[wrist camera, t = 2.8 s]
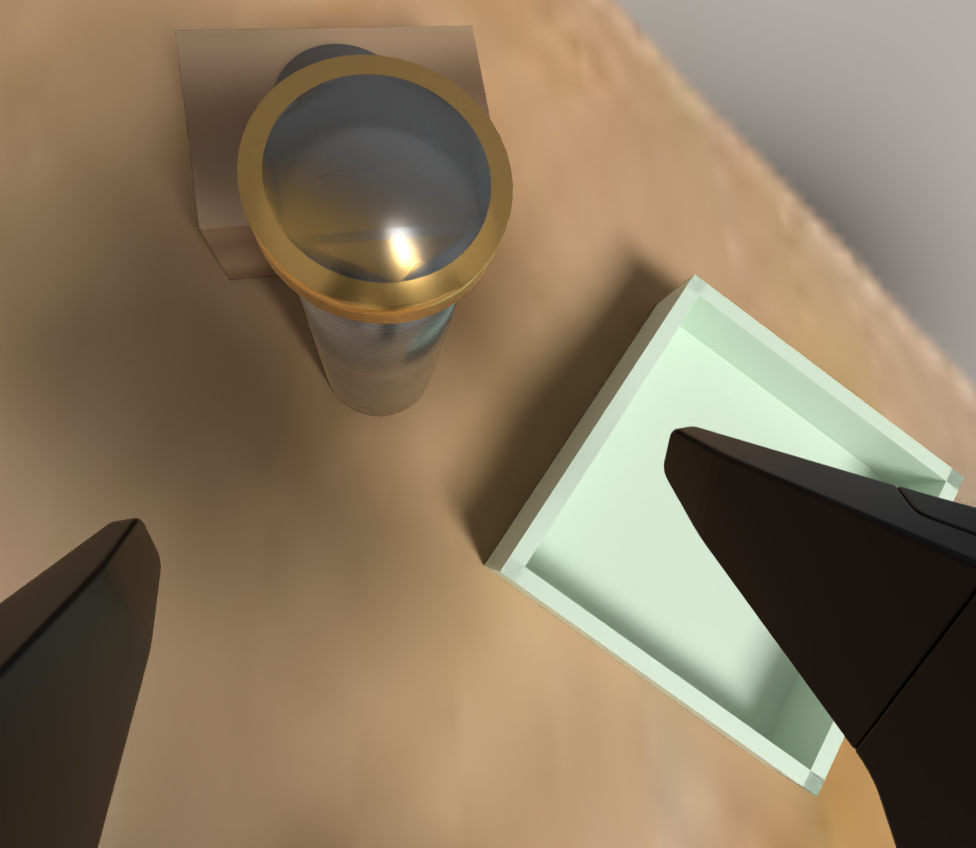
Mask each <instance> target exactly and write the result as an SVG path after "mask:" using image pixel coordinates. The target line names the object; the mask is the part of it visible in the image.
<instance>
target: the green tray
mask: <svg viewBox="0 0 976 848" xmlns="http://www.w3.org/2000/svg"><path fill="white" fill-rule="evenodd" d="M689 426H695V427H699V428H702V429H706V430H709V431H712V432H716V433H719V434H723V435H726V436H729V437H733V438H736V439H740V440H743V441H746V442H750V443H753V444H756V445H760V446H763V447H767V448H770V449H773V450H777V451H780V452H784V453H787V454H790V455H794V456H797V457H800V458H804V459H807V460H811V461H814V462H817V463H821V464H824V465H828V466H831V467H834V468H838V469H841V470H844V471H848V472H851V473H855V474H858V475H861V476H865V477H868V478H872V479H875V480H878V481H882V482H885V483H888V484H892V485H895V486H896V487H897V488H898V487H905V488H908V489H911V490H915V491H918V492H922V493H925V494H929V495H932V496H936V497H939V498H943V499H946V500H950V501H953V500H954V498H955V496H956V494H957V492H958V490H959V487H960V485H961V483H962V481H963V479H964V477H963V476H961V475H960V474H959V473H958V472H956V471H955V470H954V469H952V468H951V467H950V466H948V465H947V464H946V463H944V462H943V461H942V460H940V459H939V458H938V457H936V456H935V455H934V454H932V453H931V452H930V451H928V450H927V449H926V448H924V447H923V446H922V445H920V444H919V443H918V442H916V441H915V440H914V439H912V438H911V437H910V436H908V435H907V434H906V433H904V432H903V431H902V430H900V429H899V428H898V427H897V426H895V425H894V424H893V423H891V422H890V421H889V420H887V419H886V418H885V417H883V416H882V415H881V414H879V413H878V412H877V411H875V410H874V409H873V408H871V407H870V406H869V405H867V404H866V403H865V402H863V401H862V400H861V399H859V398H858V397H857V396H855V395H854V394H853V393H851V392H850V391H849V390H847V389H846V388H845V387H843V386H842V385H841V384H839V383H838V382H837V381H836V380H834V379H833V378H832V377H830V376H829V375H828V374H826V373H825V372H824V371H822V370H821V369H820V368H818V367H817V366H816V365H814V364H813V363H812V362H810V361H809V360H808V359H806V358H805V357H804V356H802V355H801V354H800V353H798V352H797V351H796V350H794V349H793V348H792V347H790V346H789V345H788V344H786V343H785V342H784V341H782V340H781V339H780V338H778V337H777V336H776V335H775V334H773V333H772V332H771V331H769V330H768V329H767V328H765V327H764V326H763V325H761V324H760V323H759V322H757V321H756V320H755V319H753V318H752V317H751V316H749V315H748V314H747V313H745V312H744V311H743V310H741V309H740V308H739V307H737V306H736V305H735V304H733V303H732V302H731V301H729V300H728V299H727V298H725V297H724V296H723V295H721V294H720V293H719V292H717V291H716V290H715V289H713V288H712V287H711V286H710V285H708V284H707V283H706V282H704V281H703V280H702V279H700V278H699V277H698V276H696V275H695V274H694V275H693V276H692V277H690V278H689V279H688V280H686V281H685V282H684V283H683V284H681V285H680V286H679V287H678V288H676V289H675V290H674V291H673V292H671V293H670V294H669V295H668V296H666V297H665V298H664V299H663V300H661V301H660V302H659V303H658V304H657V305H656V307H655V308H654V310H653V311H652V313H651V314H650V316H649V317H648V319H647V320H646V322H645V323H644V325H643V326H642V328H641V329H640V331H639V332H638V334H637V335H636V337H635V338H634V340H633V341H632V343H631V344H630V346H629V347H628V349H627V351H626V352H625V354H624V355H623V357H622V358H621V360H620V361H619V363H618V364H617V366H616V367H615V369H614V370H613V372H612V373H611V375H610V376H609V378H608V379H607V381H606V382H605V384H604V385H603V387H602V388H601V390H600V391H599V393H598V394H597V396H596V397H595V399H594V400H593V402H592V403H591V405H590V406H589V408H588V409H587V411H586V412H585V414H584V415H583V417H582V418H581V420H580V421H579V423H578V424H577V426H576V427H575V429H574V431H573V432H572V434H571V435H570V437H569V438H568V440H567V441H566V443H565V444H564V446H563V447H562V449H561V450H560V452H559V453H558V455H557V456H556V458H555V459H554V461H553V462H552V464H551V465H550V467H549V468H548V470H547V471H546V473H545V474H544V476H543V477H542V479H541V480H540V482H539V483H538V485H537V486H536V488H535V489H534V491H533V492H532V494H531V495H530V497H529V498H528V500H527V501H526V503H525V504H524V506H523V507H522V509H521V511H520V512H519V514H518V515H517V517H516V518H515V520H514V521H513V523H512V524H511V526H510V527H509V529H508V530H507V532H506V533H505V535H504V536H503V538H502V539H501V541H500V542H499V544H498V545H497V547H496V548H495V550H494V551H493V553H492V554H491V556H490V557H489V559H488V560H487V562H486V563H485V565H484V566H485V567H486V568H488V569H489V570H491V571H492V572H493V573H495V574H496V575H498V576H499V577H501V578H502V579H503V580H505V581H506V582H508V583H509V584H510V585H512V586H513V587H515V588H516V589H517V590H519V591H520V592H522V593H523V594H524V595H526V596H527V597H529V598H530V599H532V600H533V601H534V602H536V603H537V604H539V605H540V606H541V607H543V608H544V609H546V610H547V611H548V612H550V613H551V614H553V615H554V616H555V617H557V618H558V619H560V620H561V621H563V622H564V623H565V624H567V625H568V626H570V627H571V628H572V629H574V630H575V631H577V632H578V633H579V634H581V635H582V636H584V637H585V638H586V639H588V640H589V641H591V642H592V643H593V644H595V645H596V646H598V647H599V648H601V649H602V650H603V651H605V652H606V653H608V654H609V655H610V656H612V657H613V658H615V659H616V660H617V661H619V662H620V663H622V664H623V665H624V666H626V667H627V668H629V669H630V670H632V671H633V672H634V673H636V674H637V675H639V676H640V677H641V678H643V679H644V680H646V681H647V682H648V683H650V684H651V685H653V686H654V687H655V688H657V689H658V690H660V691H661V692H663V693H664V694H665V695H667V696H668V697H670V698H671V699H672V700H674V701H675V702H677V703H678V704H679V705H681V706H682V707H684V708H685V709H686V710H688V711H689V712H691V713H692V714H694V715H695V716H696V717H698V718H699V719H701V720H702V721H703V722H705V723H706V724H708V725H709V726H710V727H712V728H713V729H715V730H716V731H717V732H719V733H720V734H722V735H723V736H725V737H726V738H727V739H729V740H730V741H732V742H733V743H734V744H736V745H737V746H739V747H740V748H741V749H743V750H744V751H746V752H747V753H748V754H750V755H751V756H753V757H754V758H756V759H757V760H758V761H760V762H761V763H763V764H764V765H766V766H768V767H769V768H771V769H773V770H774V771H776V772H777V773H779V774H781V775H782V776H784V777H786V778H787V779H789V780H790V781H792V782H794V783H795V784H797V785H799V786H800V787H802V788H803V789H805V790H807V791H808V792H810V793H811V794H813V795H815V796H816V797H817V795H818V793H819V791H820V788H821V786H822V784H823V782H824V780H825V778H826V775H827V773H828V771H829V769H830V767H831V765H832V762H833V760H834V758H835V756H836V754H837V752H838V749H839V747H840V745H841V743H842V741H843V739H844V735H843V733H842V732H841V731H840V729H839V728H838V727H837V725H836V724H835V722H834V721H833V720H832V718H831V717H830V716H829V714H828V713H827V711H826V710H825V709H824V707H823V706H822V705H821V703H820V702H819V700H818V699H817V698H816V696H815V695H814V693H813V692H812V691H811V689H810V688H809V687H808V685H807V684H806V682H805V681H804V680H803V678H802V677H801V676H800V674H799V673H798V671H797V670H796V669H795V667H794V666H793V665H792V663H791V662H790V660H789V659H788V658H787V656H786V655H785V654H784V652H783V651H782V649H781V648H780V647H779V645H778V644H777V643H776V641H775V640H774V638H773V637H772V636H771V634H770V633H769V632H768V630H767V629H766V627H765V626H764V625H763V623H762V622H761V621H760V619H759V618H758V616H757V615H756V614H755V612H754V611H753V609H752V608H751V607H750V605H749V604H748V603H747V601H746V600H745V599H744V597H743V596H742V594H741V593H740V592H739V590H738V589H737V588H736V586H735V585H734V583H733V582H732V581H731V579H730V578H729V577H728V575H727V574H726V572H725V571H724V570H723V568H722V567H721V566H720V564H719V563H718V561H717V560H716V559H715V557H714V556H713V555H712V553H711V552H710V550H709V549H708V548H707V546H706V545H705V543H704V542H703V540H702V539H701V538H700V536H699V535H698V533H697V531H696V530H695V528H694V526H693V525H692V523H691V521H690V519H689V517H688V516H687V514H686V512H685V510H684V509H683V507H682V505H681V503H680V501H679V500H678V498H677V496H676V494H675V493H674V491H673V489H672V487H671V485H670V484H669V482H668V480H667V478H666V476H665V473H664V460H665V455H666V451H667V447H668V442H669V438H670V435H671V433H672V431H673V430H675V429H677V428H683V427H689Z"/></svg>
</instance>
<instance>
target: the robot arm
mask: <svg viewBox="0 0 976 848" xmlns="http://www.w3.org/2000/svg"><path fill="white" fill-rule="evenodd" d="M664 473H665V476H666V478H667V480H668V482H669V484H670V485H671V487H672V489H673V491H674V493H675V494H676V496H677V498H678V500H679V501H680V503H681V505H682V507H683V509H684V510H685V512H686V514H687V516H688V517H689V519H690V521H691V523H692V525H693V526H694V528H695V530H696V531H697V533H698V535H699V536H700V538H701V539H702V540H703V542H704V543H705V545H706V546H707V548H708V549H709V550H710V552H711V553H712V555H713V556H714V557H715V559H716V560H717V561H718V563H719V564H720V566H721V567H722V568H723V570H724V571H725V572H726V574H727V575H728V577H729V578H730V579H731V581H732V582H733V583H734V585H735V586H736V588H737V589H738V590H739V592H740V593H741V594H742V596H743V597H744V599H745V600H746V601H747V603H748V604H749V605H750V607H751V608H752V609H753V611H754V612H755V614H756V615H757V616H758V618H759V619H760V621H761V622H762V623H763V625H764V626H765V627H766V629H767V630H768V632H769V633H770V634H771V636H772V637H773V638H774V640H775V641H776V643H777V644H778V645H779V647H780V648H781V649H782V651H783V652H784V654H785V655H786V656H787V658H788V659H789V660H790V662H791V663H792V665H793V666H794V667H795V669H796V670H797V671H798V673H799V674H800V676H801V677H802V678H803V680H804V681H805V682H806V684H807V685H808V687H809V688H810V689H811V691H812V692H813V693H814V695H815V696H816V698H817V699H818V700H819V702H820V703H821V705H822V706H823V707H824V709H825V710H826V711H827V713H828V714H829V716H830V717H831V718H832V720H833V721H834V722H835V724H836V725H837V727H838V728H839V729H840V731H841V732H842V733H843V735H844V736H845V738H846V739H847V740H848V742H849V743H850V744H851V746H852V747H853V748H854V749H856V753H857V754H858V755H859V757H860V758H861V760H862V761H863V763H864V765H865V766H866V768H867V770H868V772H869V773H870V775H871V777H872V779H873V781H874V784H875V786H876V788H877V791H878V794H879V796H880V799H881V803H882V806H883V809H884V812H885V815H886V818H887V821H888V824H889V827H890V830H891V833H892V836H893V839H894V842H895V845H896V848H976V507H972V506H968V505H964V504H960V503H957V502H953V501H950V500H946V499H943V498H939V497H936V496H932V495H929V494H925V493H922V492H918V491H915V490H911V489H908V488H905V487H898V488H897V487H896V486H895V485H892V484H888V483H885V482H882V481H878V480H875V479H872V478H868V477H865V476H861V475H858V474H855V473H851V472H848V471H844V470H841V469H838V468H834V467H831V466H828V465H824V464H821V463H817V462H814V461H811V460H807V459H804V458H800V457H797V456H794V455H790V454H787V453H784V452H780V451H777V450H773V449H770V448H767V447H763V446H760V445H756V444H753V443H750V442H746V441H743V440H740V439H736V438H733V437H729V436H726V435H723V434H719V433H716V432H712V431H709V430H706V429H702V428H699V427H695V426H689V427H683V428H677V429H675V430H673V431H672V433H671V435H670V438H669V442H668V447H667V451H666V455H665V460H664ZM160 570H161V563H160V557H159V554H158V551H157V549H156V547H155V545H154V543H153V541H152V539H151V537H150V535H149V533H148V531H147V529H146V526H145V524H144V523H143V522H142V521H141V520H140V519H138V518H132V519H126V520H120V521H114V522H111V523H109V524H108V525H106V526H105V527H104V528H102V529H101V530H100V531H98V532H97V533H96V534H94V535H93V536H91V537H90V538H89V539H87V540H86V541H85V542H83V543H82V544H81V545H79V546H78V547H76V548H75V549H74V550H72V551H71V552H70V553H68V554H67V555H65V556H64V557H63V558H61V559H60V560H59V561H57V562H56V563H55V564H53V565H52V566H50V567H49V568H48V569H46V570H45V571H44V572H42V573H41V574H40V575H38V576H37V577H35V578H34V579H33V580H31V581H30V582H29V583H27V584H26V585H25V586H23V587H22V588H20V589H19V590H18V591H16V592H15V593H14V594H12V595H11V596H9V597H8V598H7V599H5V600H4V601H3V602H1V603H0V848H98V845H99V841H100V837H101V834H102V830H103V826H104V822H105V819H106V815H107V811H108V807H109V804H110V800H111V796H112V792H113V789H114V785H115V781H116V777H117V774H118V770H119V766H120V762H121V759H122V755H123V751H124V747H125V744H126V740H127V736H128V732H129V729H130V725H131V721H132V717H133V714H134V710H135V706H136V702H137V699H138V695H139V691H140V687H141V684H142V680H143V676H144V672H145V669H146V665H147V661H148V657H149V652H150V648H151V642H152V635H153V627H154V619H155V611H156V603H157V595H158V587H159V579H160Z"/></svg>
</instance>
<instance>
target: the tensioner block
mask: <svg viewBox="0 0 976 848" xmlns="http://www.w3.org/2000/svg"><path fill="white" fill-rule="evenodd" d="M175 31H176V40H177V48H178V56H179V64H180V73H181V81H182V89H183V97H184V106H185V114H186V122H187V131H188V139H189V147H190V155H191V164H192V172H193V180H194V189H195V197H196V205H197V213H198V222H199V230H200V231H201V233H202V235H203V236H204V238H205V239H206V241H207V243H208V244H209V246H210V248H211V249H212V251H213V253H214V254H215V256H216V258H217V259H218V261H219V263H220V264H221V266H222V268H223V269H224V271H225V273H226V274H227V276H228V278H229V279H230V280H232V279H243V278H253V277H264V276H275V275H277V274H276V272H275V271H274V270H273V268H272V267H271V265H270V264H269V263H268V261H267V260H266V258H265V256H264V254H263V252H262V250H261V248H260V247H259V245H258V242H257V240H256V237H255V235H254V233H253V230H252V228H251V226H250V223H249V221H248V219H247V216H246V213H245V210H244V207H243V205H242V202H241V197H240V192H239V187H238V176H237V163H238V152H239V147H240V144H241V140H242V136H243V133H244V131H245V128H246V126H247V123H248V121H249V119H250V117H251V116H252V114H253V112H254V111H255V109H256V108H257V106H258V105H259V103H260V102H261V101H262V100H263V99H264V97H265V96H266V95H267V94H268V93H269V92H270V91H271V90H272V89H273V88H274V87H275V86H277V85H278V84H279V83H280V82H281V81H283V80H284V79H286V78H287V77H289V76H290V75H292V74H293V73H295V72H297V71H299V70H301V69H303V68H305V67H307V66H309V65H311V64H314V63H317V62H320V61H323V60H326V59H331V58H335V57H340V56H348V55H360V54H361V55H381V56H388V57H394V58H398V59H402V60H406V61H410V62H413V63H416V64H418V65H421V66H423V67H426V68H428V69H430V70H432V71H434V72H436V73H438V74H440V75H442V76H444V77H445V78H447V79H448V80H450V81H451V82H453V83H454V84H456V85H457V86H459V87H460V88H461V89H462V90H463V91H464V92H466V93H467V94H468V95H469V96H470V97H471V98H472V99H473V100H474V101H475V102H476V103H477V104H478V105H479V106H480V107H481V108H482V109H483V111H484V112H485V113H486V115H487V116H488V118H489V119H490V116H489V111H488V106H487V101H486V96H485V90H484V85H483V80H482V75H481V70H480V65H479V59H478V54H477V49H476V44H475V39H474V34H473V28H472V26H424V27H362V28H299V29H236V30H175Z"/></svg>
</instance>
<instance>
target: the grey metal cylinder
mask: <svg viewBox="0 0 976 848" xmlns="http://www.w3.org/2000/svg"><path fill="white" fill-rule="evenodd" d="M237 176H238V187H239V192H240V197H241V202H242V205H243V207H244V210H245V213H246V216H247V219H248V221H249V223H250V226H251V228H252V230H253V233H254V235H255V237H256V240H257V242H258V245H259V247H260V248H261V250H262V252H263V254H264V256H265V258H266V260H267V261H268V263H269V264H270V265H271V267H272V268H273V270H274V271H275V272H276V274H277V275H278V276H279V277H280V278H281V279H282V280H283V281H284V282H285V283H286V284H287V286H288V287H290V288H291V289H292V290H293V291H295V292H296V293H297V294H298V295H299V297H300V300H301V303H302V305H303V308H304V311H305V314H306V317H307V320H308V323H309V326H310V329H311V332H312V335H313V338H314V341H315V344H316V346H317V349H318V352H319V355H320V358H321V361H322V364H323V367H324V370H325V373H326V376H327V379H328V381H329V384H330V386H331V388H332V390H333V392H334V393H335V394H336V396H337V397H338V398H339V399H340V400H341V401H342V402H343V403H344V404H346V405H347V406H348V407H350V408H351V409H353V410H355V411H357V412H360V413H363V414H366V415H372V416H387V415H392V414H395V413H398V412H401V411H403V410H405V409H407V408H408V407H410V406H411V405H412V404H414V403H415V402H416V401H417V400H418V399H419V398H420V396H421V395H422V394H423V392H424V390H425V389H426V386H427V384H428V382H429V379H430V376H431V373H432V370H433V367H434V364H435V362H436V359H437V356H438V353H439V350H440V347H441V345H442V342H443V339H444V336H445V333H446V330H447V327H448V325H449V322H450V319H451V316H452V313H453V310H454V307H455V305H456V302H457V301H459V300H460V299H461V298H462V297H463V296H465V295H466V294H467V293H468V292H469V291H470V290H471V289H472V288H473V287H474V286H475V285H476V284H477V283H478V281H479V280H480V279H481V278H482V276H483V275H484V273H485V272H486V270H487V269H488V267H489V265H490V263H491V261H492V259H493V257H494V255H495V252H496V250H497V248H498V245H499V243H500V241H501V238H502V236H503V234H504V231H505V229H506V226H507V222H508V219H509V216H510V211H511V204H512V188H513V183H512V175H511V167H510V163H509V160H508V156H507V152H506V150H505V147H504V145H503V142H502V140H501V137H500V135H499V134H498V132H497V130H496V128H495V127H494V125H493V123H492V122H491V120H490V119H489V118H488V116H487V115H486V113H485V112H484V111H483V109H482V108H481V107H480V106H479V105H478V104H477V103H476V102H475V101H474V100H473V99H472V98H471V97H470V96H469V95H468V94H467V93H466V92H464V91H463V90H462V89H461V88H460V87H459V86H457V85H456V84H454V83H453V82H451V81H450V80H448V79H447V78H445V77H444V76H442V75H440V74H438V73H436V72H434V71H432V70H430V69H428V68H426V67H423V66H421V65H418V64H416V63H413V62H410V61H406V60H402V59H398V58H394V57H388V56H381V55H361V54H360V55H348V56H340V57H335V58H331V59H326V60H323V61H320V62H317V63H314V64H311V65H309V66H307V67H305V68H303V69H301V70H299V71H297V72H295V73H293V74H292V75H290V76H289V77H287V78H286V79H284V80H283V81H281V82H280V83H279V84H278V85H277V86H275V87H274V88H273V89H272V90H271V91H270V92H269V93H268V94H267V95H266V96H265V97H264V99H263V100H262V101H261V102H260V103H259V105H258V106H257V108H256V109H255V111H254V112H253V114H252V116H251V117H250V119H249V121H248V123H247V126H246V128H245V131H244V133H243V136H242V140H241V144H240V147H239V152H238V163H237Z"/></svg>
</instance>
